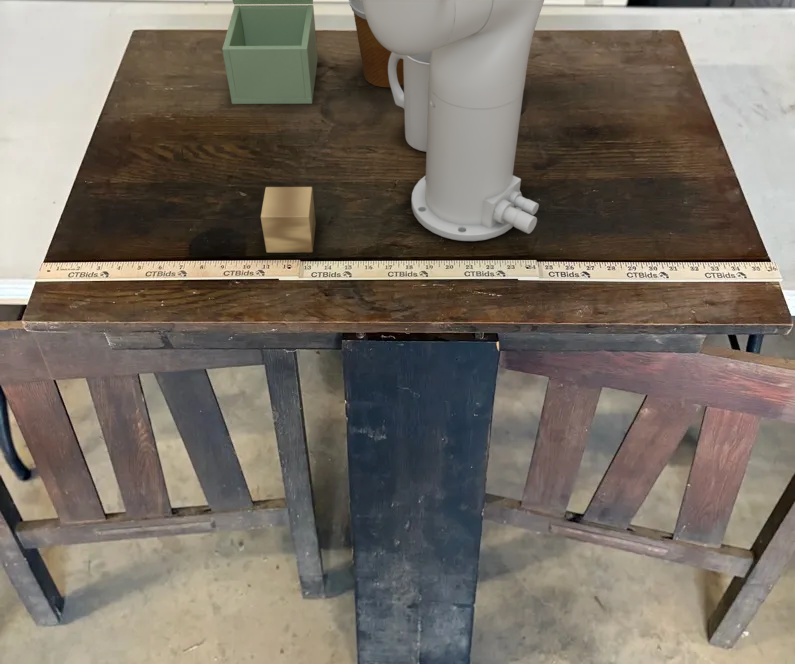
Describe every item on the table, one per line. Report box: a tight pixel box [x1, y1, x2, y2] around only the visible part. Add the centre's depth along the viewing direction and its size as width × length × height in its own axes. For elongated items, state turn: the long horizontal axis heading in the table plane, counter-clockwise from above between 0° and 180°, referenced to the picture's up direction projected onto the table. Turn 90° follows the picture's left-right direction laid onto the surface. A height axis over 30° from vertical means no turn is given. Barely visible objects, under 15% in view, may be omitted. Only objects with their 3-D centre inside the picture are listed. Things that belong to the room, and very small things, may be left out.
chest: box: [221, 4, 319, 105], centre depth 106 cm, size 12×11×8 cm
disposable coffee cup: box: [348, 0, 404, 88], centre depth 105 cm, size 10×10×12 cm
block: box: [260, 186, 317, 254], centre depth 86 cm, size 5×5×5 cm
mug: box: [388, 51, 432, 153], centre depth 96 cm, size 10×7×12 cm, turn 50°
